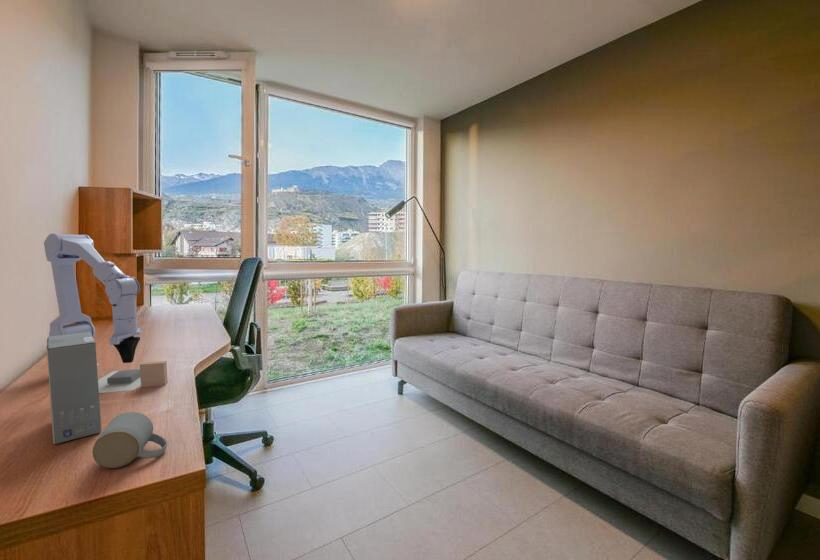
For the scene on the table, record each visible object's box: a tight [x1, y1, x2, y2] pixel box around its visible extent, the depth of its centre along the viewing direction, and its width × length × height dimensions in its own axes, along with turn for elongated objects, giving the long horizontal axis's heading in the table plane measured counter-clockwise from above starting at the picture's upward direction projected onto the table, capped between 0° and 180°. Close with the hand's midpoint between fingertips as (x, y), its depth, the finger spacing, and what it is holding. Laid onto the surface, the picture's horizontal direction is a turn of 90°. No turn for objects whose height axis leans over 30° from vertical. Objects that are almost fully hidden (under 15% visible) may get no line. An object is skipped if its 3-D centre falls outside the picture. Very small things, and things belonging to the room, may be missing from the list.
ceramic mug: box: [92, 411, 168, 469], centre depth 70 cm, size 11×8×8 cm
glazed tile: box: [107, 368, 140, 385], centre depth 110 cm, size 2×6×7 cm
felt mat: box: [98, 370, 141, 394], centre depth 110 cm, size 20×14×1 cm
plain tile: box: [139, 360, 169, 388], centre depth 106 cm, size 2×6×7 cm, turn 104°
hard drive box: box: [46, 332, 102, 445], centre depth 81 cm, size 16×8×20 cm, turn 44°
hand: (128, 362), depth 112 cm, fingers closed
